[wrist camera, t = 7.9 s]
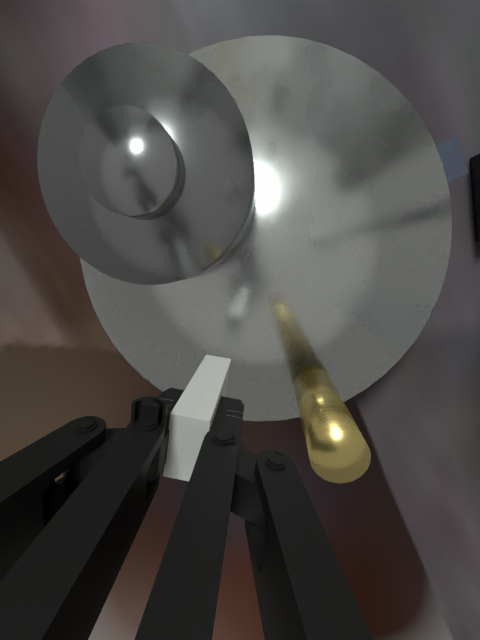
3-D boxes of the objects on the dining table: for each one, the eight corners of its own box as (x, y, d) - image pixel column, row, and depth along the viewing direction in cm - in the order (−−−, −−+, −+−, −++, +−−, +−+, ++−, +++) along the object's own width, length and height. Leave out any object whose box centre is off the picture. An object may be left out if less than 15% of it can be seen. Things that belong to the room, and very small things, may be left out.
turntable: (185, 445, 22) (133, 565, 14) (38, 173, 19) (-155, 99, 10) (494, 330, 19) (699, 393, 10) (376, -34, 15) (525, -431, 7)
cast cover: (139, 305, 18) (86, 323, 13) (59, 152, 17) (-38, 101, 11) (284, 235, 17) (292, 224, 11) (209, 59, 15) (177, -52, 10)
